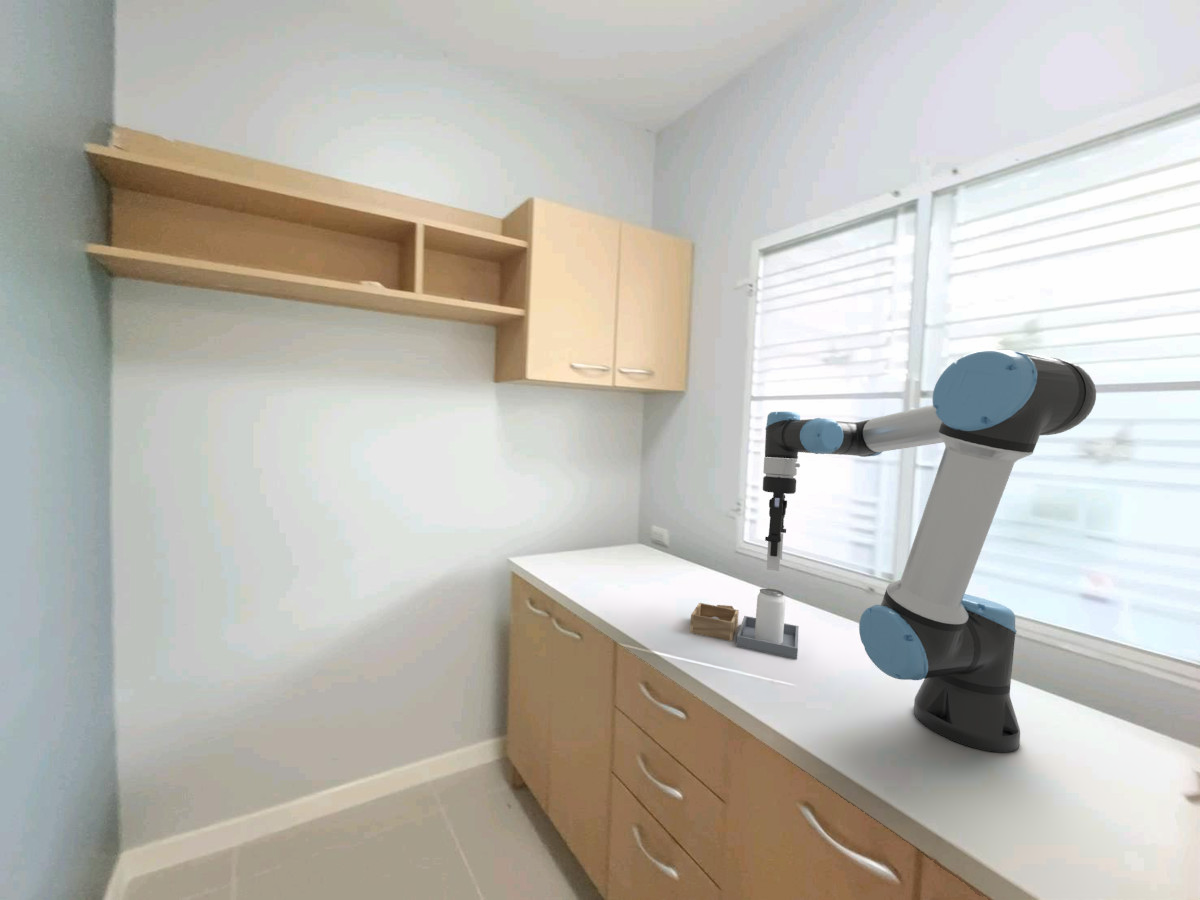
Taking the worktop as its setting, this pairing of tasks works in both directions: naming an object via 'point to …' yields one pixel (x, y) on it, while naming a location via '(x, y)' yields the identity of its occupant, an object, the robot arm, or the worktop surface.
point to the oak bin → (714, 621)
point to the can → (770, 615)
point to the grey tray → (750, 642)
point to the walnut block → (726, 606)
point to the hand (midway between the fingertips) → (774, 564)
